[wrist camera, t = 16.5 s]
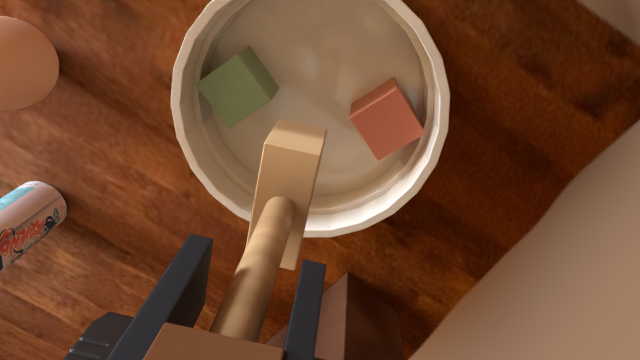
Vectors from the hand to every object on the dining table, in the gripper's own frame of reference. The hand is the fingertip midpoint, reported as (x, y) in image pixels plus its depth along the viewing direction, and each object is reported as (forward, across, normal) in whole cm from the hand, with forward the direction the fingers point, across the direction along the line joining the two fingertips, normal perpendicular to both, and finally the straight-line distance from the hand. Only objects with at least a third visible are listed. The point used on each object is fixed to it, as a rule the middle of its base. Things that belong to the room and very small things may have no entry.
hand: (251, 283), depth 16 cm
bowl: (+25, 0, 0) cm, 25 cm away
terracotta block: (+24, +5, 0) cm, 25 cm away
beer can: (+25, -23, -15) cm, 38 cm away
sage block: (+24, -6, 0) cm, 25 cm away
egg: (+25, -23, -2) cm, 34 cm away
